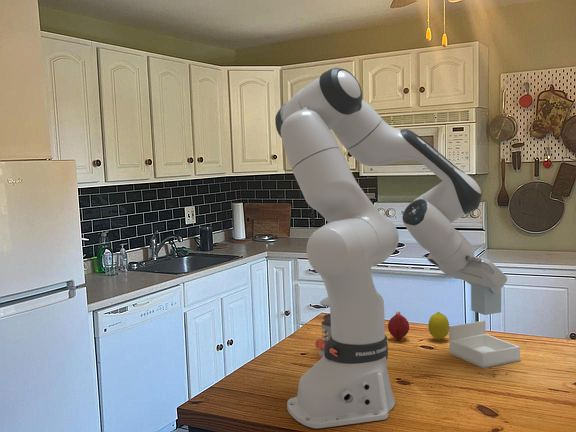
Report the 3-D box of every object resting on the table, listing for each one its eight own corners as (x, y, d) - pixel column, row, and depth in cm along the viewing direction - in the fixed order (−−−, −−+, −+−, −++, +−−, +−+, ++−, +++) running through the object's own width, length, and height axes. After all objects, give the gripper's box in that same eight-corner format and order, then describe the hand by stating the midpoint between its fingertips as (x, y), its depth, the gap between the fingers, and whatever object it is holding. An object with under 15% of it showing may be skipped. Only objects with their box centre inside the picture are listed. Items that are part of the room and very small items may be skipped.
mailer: (483, 368, 140) (482, 339, 139) (449, 353, 152) (449, 326, 151) (520, 360, 144) (519, 332, 143) (484, 346, 156) (484, 320, 155)
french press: (353, 345, 161) (350, 255, 159) (359, 360, 150) (356, 262, 147) (317, 347, 161) (313, 257, 158) (321, 362, 149) (317, 264, 147)
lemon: (452, 338, 163) (451, 310, 162) (445, 344, 159) (445, 315, 158) (432, 336, 166) (431, 308, 165) (425, 342, 161) (425, 313, 161)
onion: (411, 342, 162) (410, 314, 161) (390, 343, 162) (389, 314, 161) (407, 336, 167) (406, 308, 167) (387, 337, 167) (386, 309, 167)
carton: (484, 315, 143) (484, 274, 142) (470, 310, 147) (470, 270, 146) (501, 312, 145) (501, 272, 144) (487, 307, 149) (487, 268, 148)
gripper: (491, 249, 132) (526, 287, 137) (437, 239, 151) (468, 272, 156) (475, 271, 131) (510, 309, 135) (422, 258, 150) (455, 291, 154)
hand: (488, 289), depth 146 cm, fingers closed on carton, 5 cm apart
